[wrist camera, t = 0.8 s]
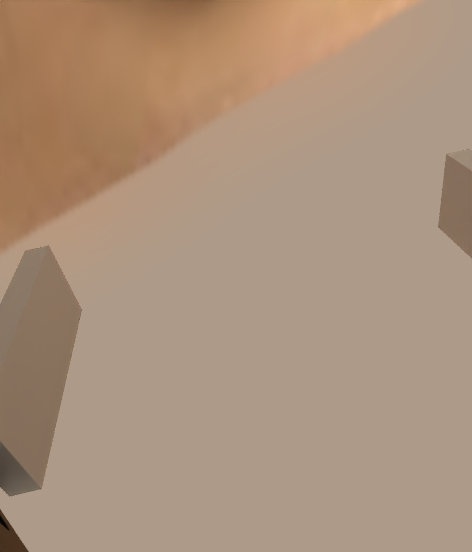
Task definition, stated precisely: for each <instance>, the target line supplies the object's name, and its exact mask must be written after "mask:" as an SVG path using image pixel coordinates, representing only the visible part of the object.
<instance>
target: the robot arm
mask: <svg viewBox="0 0 472 552" xmlns="http://www.w3.org/2000/svg"><path fill="white" fill-rule="evenodd" d="M438 227H439V228H440V229H441V230H442V231H443V232H444V233H445V234H446V235H447V236H448V237H449V238H451V239H452V240H453V241H454V242H455V243H456V244H457V245H458V246H459V247H460V248H461V249H462V250H463V251H464V252H466V253H467V254H468V255H469V256H470V257H471V258H472V150H470V149H466V150H462V151H458V152H453V153H449V154H446V161H445V171H444V180H443V188H442V198H441V207H440V216H439V225H438ZM81 311H82V309H81V307H80V305H79V303H78V301H77V299H76V298H75V296H74V294H73V292H72V290H71V288H70V286H69V284H68V282H67V280H66V278H65V276H64V274H63V272H62V270H61V268H60V266H59V265H58V263H57V261H56V259H55V257H54V255H53V253H52V251H51V249H50V247H49V246H45V247H40V248H36V249H32V250H28V251H25V253H24V255H23V257H22V259H21V262H20V263H19V265H18V268H17V270H16V272H15V274H14V276H13V278H12V281H11V283H10V285H9V287H8V289H7V291H6V293H5V295H4V298H3V300H2V302H1V304H0V487H1V488H2V489H3V490H4V491H5V492H6V493H7V494H8V495H9V496H14V495H17V494H22V493H26V492H30V491H35V490H38V489H41V488H42V485H43V480H44V476H45V471H46V467H47V462H48V458H49V453H50V449H51V445H52V439H53V436H54V431H55V427H56V422H57V418H58V413H59V409H60V404H61V400H62V395H63V391H64V386H65V382H66V378H67V373H68V369H69V364H70V360H71V356H72V350H73V347H74V342H75V338H76V333H77V329H78V324H79V320H80V315H81ZM0 552H28V550H27V549H26V547H25V546H24V544H23V543H22V541H21V540H20V538H19V537H18V535H17V534H16V533H15V531H14V529H13V528H12V526H11V525H10V523H9V522H8V520H7V519H6V517H5V516H4V514H3V513H2V511H1V510H0Z"/></svg>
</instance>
